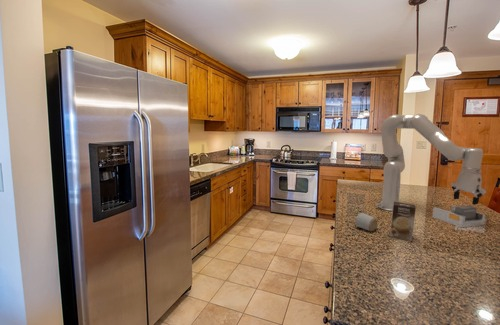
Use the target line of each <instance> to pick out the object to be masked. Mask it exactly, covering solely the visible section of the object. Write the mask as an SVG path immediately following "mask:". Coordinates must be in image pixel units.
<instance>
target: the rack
mask: <svg viewBox="0 0 500 325" xmlns="http://www.w3.org/2000/svg"><path fill="white" fill-rule="evenodd" d="M455 207H457V205H451V210H446V209H443V208H440V207H437V206H434V207H433V209H432V218H434V219H436V220H440V221H443V222H445V223H448V224H451V225H454V226H456V227H459V228H468V227H477V226H483V225H485V217H486V214H485V213H482V212H478V211H476V216H475V219H473V220H465V216H463V215H459V214H456V213H455Z"/></svg>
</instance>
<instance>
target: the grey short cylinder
mask: <svg viewBox="0 0 500 325" xmlns="http://www.w3.org/2000/svg"><path fill="white" fill-rule="evenodd" d="M355 226H356V227H357V228H361V229H362V230H365V231H368V232H374V231H375V230H376V229H377V227H378V220H377V218H375V217H374V216H372V215H369V214H366V213H363V212H360V213H358V215H357V216H356V218H355Z"/></svg>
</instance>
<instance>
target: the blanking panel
mask: <svg viewBox="0 0 500 325" xmlns="http://www.w3.org/2000/svg"><path fill="white" fill-rule="evenodd" d="M456 206H457V205H456ZM476 212H477V207H475V206H472V205H458V206H457V207H455V213H456V214H459V215H463V216H465V220H473V219H475V216H476Z"/></svg>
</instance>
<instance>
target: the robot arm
mask: <svg viewBox="0 0 500 325" xmlns="http://www.w3.org/2000/svg"><path fill="white" fill-rule="evenodd" d="M397 129H405V130H406V129H412V130H413V129H414V130H415V131H416V132H418V133H419V134H420V135H421V136H422V137H424V139H426V140H427V141H428V143H430V144H431V145H432V146H433V147H434V148H435V149H436V150H437V151H438V152H439V153H441V155H443V156H444V157H445V158H446V159H447V160H449V161H451V162H453V161H455V162H456V161H459V160H462V165H461V171H460V172H459V173H458V176H457V178H456V181H455V182H451V183H450V185H451V189H452V191H453V200H459V199H460V196H461V195H460V192H461V191H462V192H466V193H471V194H472V195H473V198H472V202H471V203H472V205H478V204H479V202H480V198H481V197H483V196H484V195H485V194H486V193H487V190H486V189H484V188H483V187H482V185H483V184H482V183H483V182H482V173H483V170H481V167H482V160H483V155H484V150H483V149H482V148H479V147H478V148H477V147H463V146H462V147H461V146H459V145H456V144H455V143H454V142H453V141H451V139H449V137H447V136H446V134H445V133H444V131H443V130H442V129H441V128H440V127H438V126H437V125H436V124H434V123H433V121H431V120H430V119H429V118H428V116H426V115H425V114H421V113H417V114H412V115H411V114H408V115H407V114H405V115H403V114H393V115H392V114H391V115H390V116H388V117H387V118H385V120H383V122H382V124H381V127H380V133H381V134H380V135H381V142H382V152H383V155H384V156H385V157H386V158H387V161H386V162H385V164H384V166H383V184H382V185H383V186H382V194H381V196H382V198H381V200H380V202H375V206H376V207H378V208H379V209H381V210H384V211H389V212H393V205H394V202H400V190H401V189H400V188H401V180H402V179H401V173H402V172H403V171H404V170H405V168H406V165H405V164H406V163H405V155H404V150H403V147H402V145H401V144H400V143H399V142H398V136H397Z"/></svg>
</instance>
